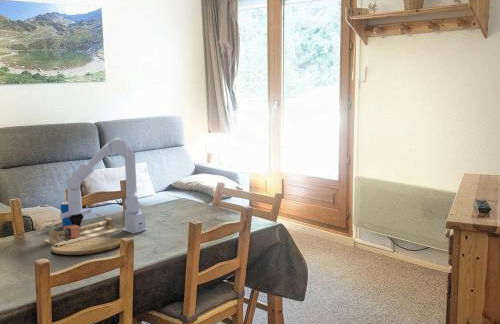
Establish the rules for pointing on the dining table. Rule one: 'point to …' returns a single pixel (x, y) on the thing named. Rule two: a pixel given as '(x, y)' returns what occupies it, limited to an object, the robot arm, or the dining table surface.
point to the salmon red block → (73, 230)
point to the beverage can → (64, 209)
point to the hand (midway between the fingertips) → (76, 230)
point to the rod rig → (84, 231)
